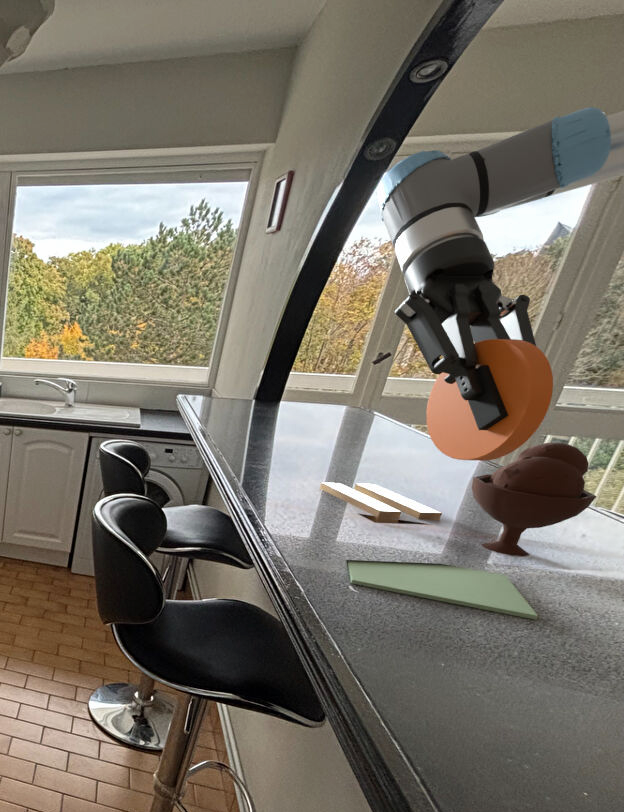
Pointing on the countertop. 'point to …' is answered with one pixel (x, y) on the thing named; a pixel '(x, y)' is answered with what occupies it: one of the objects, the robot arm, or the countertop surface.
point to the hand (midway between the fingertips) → (507, 422)
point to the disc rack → (379, 509)
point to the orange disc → (521, 394)
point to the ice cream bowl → (533, 492)
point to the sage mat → (443, 584)
